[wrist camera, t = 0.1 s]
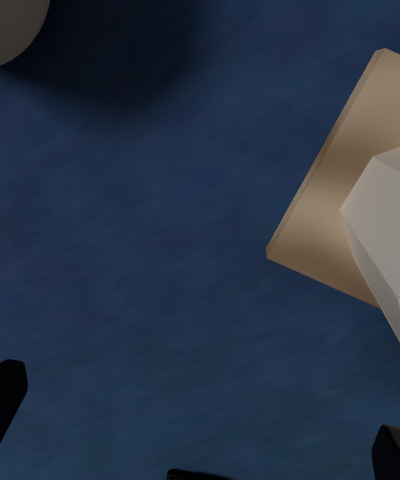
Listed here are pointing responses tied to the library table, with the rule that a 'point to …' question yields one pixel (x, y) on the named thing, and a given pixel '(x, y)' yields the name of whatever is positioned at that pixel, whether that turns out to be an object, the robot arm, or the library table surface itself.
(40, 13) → the teacup
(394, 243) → the white faceted jar
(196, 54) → the library table surface
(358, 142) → the cork pad
